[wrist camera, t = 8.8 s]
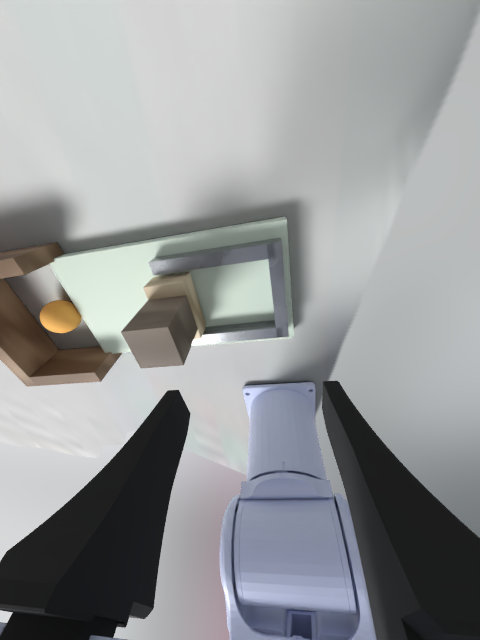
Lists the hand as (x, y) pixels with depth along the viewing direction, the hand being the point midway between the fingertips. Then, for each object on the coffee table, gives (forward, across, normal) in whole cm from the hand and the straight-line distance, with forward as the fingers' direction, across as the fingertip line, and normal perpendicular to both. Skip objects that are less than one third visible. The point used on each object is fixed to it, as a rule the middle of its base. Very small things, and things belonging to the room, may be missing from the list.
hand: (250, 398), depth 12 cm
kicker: (+9, +6, -1) cm, 11 cm away
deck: (+10, +6, -1) cm, 12 cm away
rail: (+9, +2, -1) cm, 10 cm away
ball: (+9, +18, -1) cm, 20 cm away
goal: (+10, +20, -1) cm, 23 cm away
